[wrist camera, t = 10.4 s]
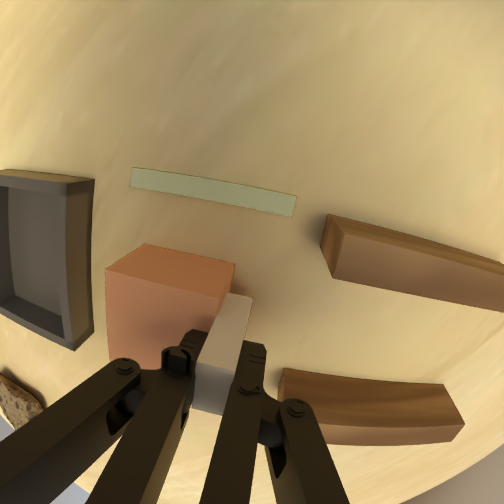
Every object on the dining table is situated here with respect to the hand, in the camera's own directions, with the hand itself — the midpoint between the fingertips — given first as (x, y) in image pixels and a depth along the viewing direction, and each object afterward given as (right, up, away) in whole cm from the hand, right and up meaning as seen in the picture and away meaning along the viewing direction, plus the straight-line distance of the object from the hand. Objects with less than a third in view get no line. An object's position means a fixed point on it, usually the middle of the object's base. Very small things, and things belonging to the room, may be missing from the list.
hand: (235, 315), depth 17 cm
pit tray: (-15, +4, +3) cm, 16 cm away
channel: (+11, -2, +1) cm, 11 cm away
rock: (-29, -16, +10) cm, 35 cm away
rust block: (-4, +1, +2) cm, 4 cm away
